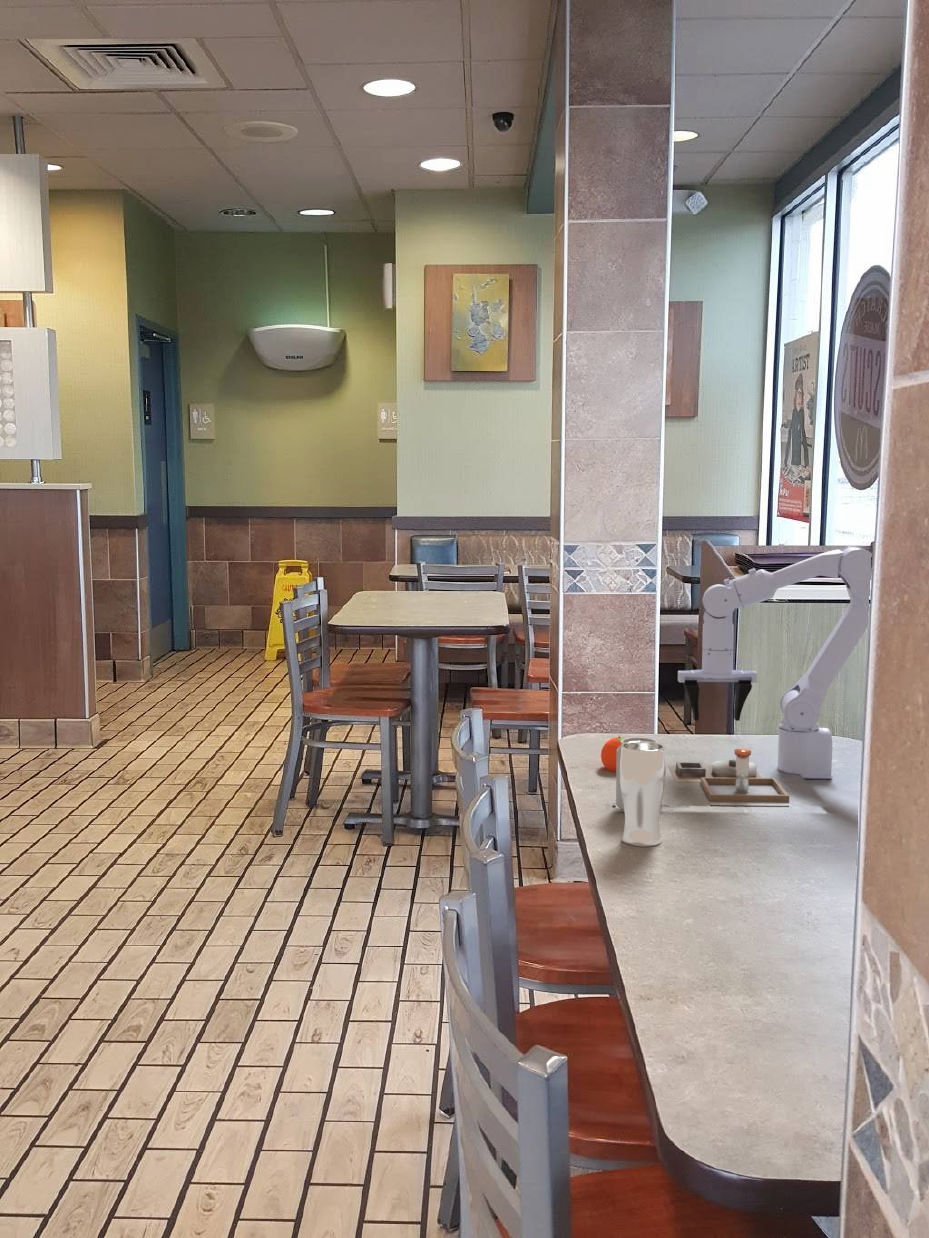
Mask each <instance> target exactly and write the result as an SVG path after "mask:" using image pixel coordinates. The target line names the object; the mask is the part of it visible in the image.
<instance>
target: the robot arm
mask: <svg viewBox="0 0 929 1238" xmlns="http://www.w3.org/2000/svg"><path fill="white" fill-rule="evenodd" d="M872 554H873V553H872V552H871V551H869V550H867V549H864V548H862V547H860V546H857V545H850V546H845V547H844V548H841V549H833V550H829V551H825V552H823V553H819V554H817V555H813V556H811V557H808V558H806V559H804V560H801V561H798V562H796V563H793V564H791V565H788V566H786V567H784V568H781V569H778V570H776V571H773V572H770V571H767V570H765V569H762V568H761V569H758V570H756V568H751V569H749V570H748V573H746V574H743V575H741V576H739V577H735V578H733V579H729V578H726V579H724V580H723V582H724V584H719V583H718V584H713V585H711V586H709V587H708V588H707V589H706V590H705V591H704V594H703V596H702V599H701V600H702V605H703V607H704V609H705V610H704V613H703V623H702V645H701V646H702V647H701V648H702V652H701V658H702V659H701V669H691V670H678V671H677V681H678V682H679V683H682V684H683V686H684V689H685V690H686V695H687V696H688V698H689V702H690V705H691V712H692V718H693V721H699V716H700V713H699V697H700V687H699V683H704V682H705V683H707V682H708V683H733V685H734V709H733V719H734V720H735V721H737V722H739V721H740V720H741V714H742V710H743V707H744V705H745V703H746V700H747V699H748V696H749V694H750V692H751V691H752V688H753V684H754V683H755V684H756V683H758V672H757V671H755V670H742V669H741V670H739V669H738V670H737V669H734V637H735V635H734V632H735V625H734V623H733V618H734V617H733V615H734V611H735V609H738V610H742V609H745V608H748V607H751V606H753V605H756V604H759V603H761V602H765V601H767V600H771V599H773V598H774V596H775V594H776V592H777V590H778V589H780V588H784V587H787V586H791V585H793V584H796V583H800V582H804V581H807V580H809V579H813V578H815V577H820V576H821V577H822V576H823V577H828V578H834V579H839V577H840V579H841V580H842V582H843V583H844V584H845V587H846V589H847V590H846V591H847V594H848V597H849V600H850V602H849V604H848V606H847V607H846V609H845V610H844V612H843V613H842V615H841V617H840V618H839V620H838V621H837V622H836V625H835V626H834V628H833V629H832V631H831V632H830V634H829V636H828V637H827V639H826V640H825V641H824V643H823V645H822V647H821V648H820V650H819V651H818V653H817V654H816V656H815V658H814V659H813V661H812V662H811V664H810V665H809V667H808V669H807V670H806V672H805V673H804V674H803V675H802V676H801V677H800V678H798V680H797V681H796V682H795V684H794V686H792V687H791V688H790V689H787V690H786V691H785V692H784V693H783V694H782V696H781V698H780V700H779V708H780V711H782V712H781V713H782V714H783V719H782V720H781V721H780V722H779V723H778V744H777V745H778V749H777V751H778V752H777V769H778V770H780V771H781V772H785V773H788V774H796V775H797V774H798V775H799V776H801V777H802V779H818V780H819V779H824V780H825V779H828V780H829V779H830V780H831V779H833V775H832V771H833V770H832V769H833V768H832V767H833V736H832V732H831V730H830V729H829V727H821V726H820V724H819V723H818V721H819V719H820V716H821V715H820V713H821V707H822V706H823V703H824V702H825V700H826V698H827V694H828V691H829V688H830V687H831V685H832V683H833V681H835V678H836V677H838V674H839V673H840V672H841V669H842V668H843V666H844V665H845V663H846V662H847V660H848V658H849V657H850V655H851V653H853V650H854V649H855V647H856V646H857V644H858V643H859V641H860V639H861V638H862V637H863V635H864V634H865V632H866V630H867V629H868V627H869V626H868V611H869V596H870V580H871V557H872ZM752 683H753V684H752Z"/></svg>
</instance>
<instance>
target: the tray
mask: <svg viewBox="0 0 929 1238" xmlns="http://www.w3.org/2000/svg"><path fill="white" fill-rule="evenodd" d="M735 782H736V778H720V777H701V782H700V785H701V786H702V788H703V789H704V792H705V794H706V796H707V797H708V799H709V801H710V802H766V803H767V802H771V803H772V802H776V803H777V802H780V803H781V802H783V803H784V802H785V803H786V802H788V803H789V802H790V794H789V793H788V792H787V790H786V789H785V788H784V787H783V786H782V784H781V783H780V782H779V781H778V779H777V778H776V777H762V778H749V781H748V785H769V786H771V785H772V786H773V787H774V789H775V790H776V791H777V792H778V794H767V793H766V794H765V793H764V794H763V793H762V794H757V793H754V794H753V793H751V794H749V793H744V794H742V793H737V794H736V793H714V792H713V790H712V789H711V786H710V785H735ZM709 806H710V807H725V808H726V807H731V808H732V807H734V808H735V807H737V808H742V807H744V808H752V807H753V808H789V807H790V806H789V805H755V804H754V805H751V804H750V805H744V804H743V805H739V804H738V805H737V804H733V805H731V804H728V805H727V804H724V805H723V804H709Z"/></svg>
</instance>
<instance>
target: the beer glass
mask: <svg viewBox="0 0 929 1238" xmlns="http://www.w3.org/2000/svg"><path fill="white" fill-rule="evenodd" d="M620 786H621V793H622V799H623V804H624V811H625V813H624V824H623V825H624V826H623V831H622V835H621V840H622V842H623V843H625V844H626V845H629V846H633V847H641V848H643V847H645V848H646V847H655V846H657V845H658V846H659V845H660V844H661V843H662V840H663V839H662V835H661V834H662V832H661V826H660V825H661V824H660V815H661V808H662V803H663V797H664V791H665V786H666V754H665V745H664V744H662V743H659V742H658V743H656V742H650V741H631V742H626V743H623V744H622V745H621V758H620Z"/></svg>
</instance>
